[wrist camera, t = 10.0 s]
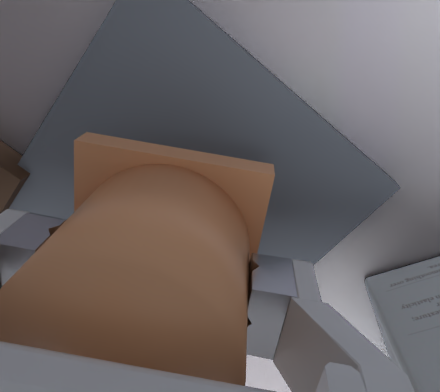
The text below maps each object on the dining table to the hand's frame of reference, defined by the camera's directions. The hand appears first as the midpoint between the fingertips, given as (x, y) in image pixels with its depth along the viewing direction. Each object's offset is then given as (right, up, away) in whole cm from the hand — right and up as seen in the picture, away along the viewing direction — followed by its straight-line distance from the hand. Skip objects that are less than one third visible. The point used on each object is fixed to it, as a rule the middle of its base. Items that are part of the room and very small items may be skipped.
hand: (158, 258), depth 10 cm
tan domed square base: (0, +1, +1) cm, 1 cm away
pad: (0, +2, +4) cm, 4 cm away
